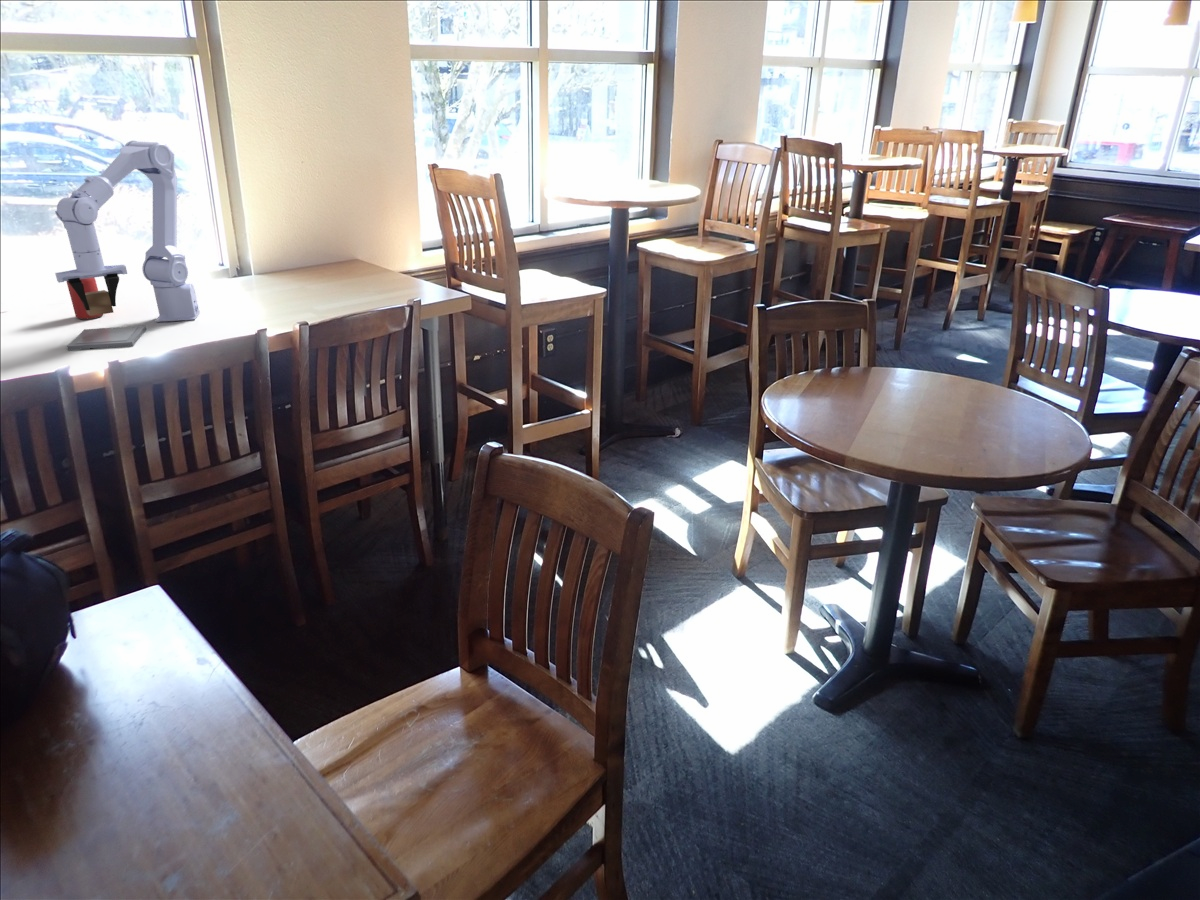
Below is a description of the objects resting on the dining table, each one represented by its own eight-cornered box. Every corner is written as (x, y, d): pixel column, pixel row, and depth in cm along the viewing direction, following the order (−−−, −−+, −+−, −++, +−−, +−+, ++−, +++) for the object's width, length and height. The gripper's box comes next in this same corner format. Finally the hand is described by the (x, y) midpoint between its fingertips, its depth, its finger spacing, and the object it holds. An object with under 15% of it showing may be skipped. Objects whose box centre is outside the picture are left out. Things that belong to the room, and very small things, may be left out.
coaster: (146, 329, 212) (145, 325, 212) (133, 346, 200) (132, 341, 200) (85, 333, 209) (84, 329, 209) (68, 350, 197) (66, 345, 196)
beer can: (77, 315, 224) (65, 270, 219) (105, 312, 227) (94, 268, 221) (75, 321, 219) (62, 275, 213) (103, 318, 221) (92, 273, 216)
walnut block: (109, 310, 207) (104, 290, 205) (113, 312, 203) (108, 291, 202) (86, 313, 204) (81, 293, 203) (90, 315, 201) (84, 295, 199)
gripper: (116, 244, 202) (129, 299, 208) (47, 251, 194) (63, 308, 200) (123, 248, 198) (136, 305, 203) (52, 256, 189) (68, 315, 195)
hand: (100, 307), depth 201 cm, fingers closed on walnut block, 5 cm apart
